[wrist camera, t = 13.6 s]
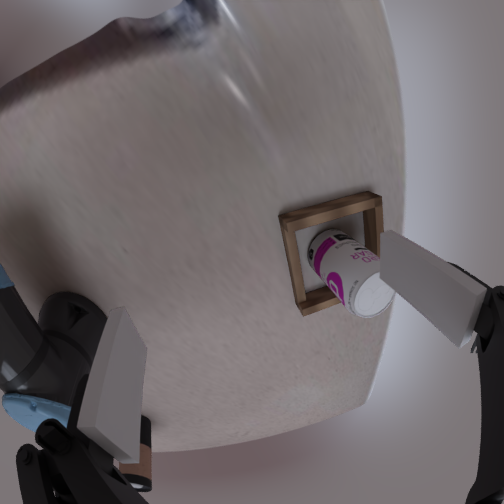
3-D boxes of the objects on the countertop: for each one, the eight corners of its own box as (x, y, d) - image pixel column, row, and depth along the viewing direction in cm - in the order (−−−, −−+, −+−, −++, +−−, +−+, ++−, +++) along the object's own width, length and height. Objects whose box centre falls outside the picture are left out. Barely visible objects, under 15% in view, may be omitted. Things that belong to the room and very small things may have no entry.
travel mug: (150, 429, 57) (151, 493, 39) (123, 424, 55) (119, 488, 37) (153, 416, 55) (153, 486, 37) (123, 410, 53) (117, 480, 35)
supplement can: (313, 279, 47) (354, 331, 34) (300, 239, 44) (345, 284, 30) (352, 260, 48) (401, 304, 34) (343, 220, 44) (399, 256, 31)
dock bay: (295, 303, 49) (303, 316, 45) (278, 215, 41) (286, 223, 38) (372, 275, 50) (383, 284, 47) (368, 191, 43) (381, 196, 39)
